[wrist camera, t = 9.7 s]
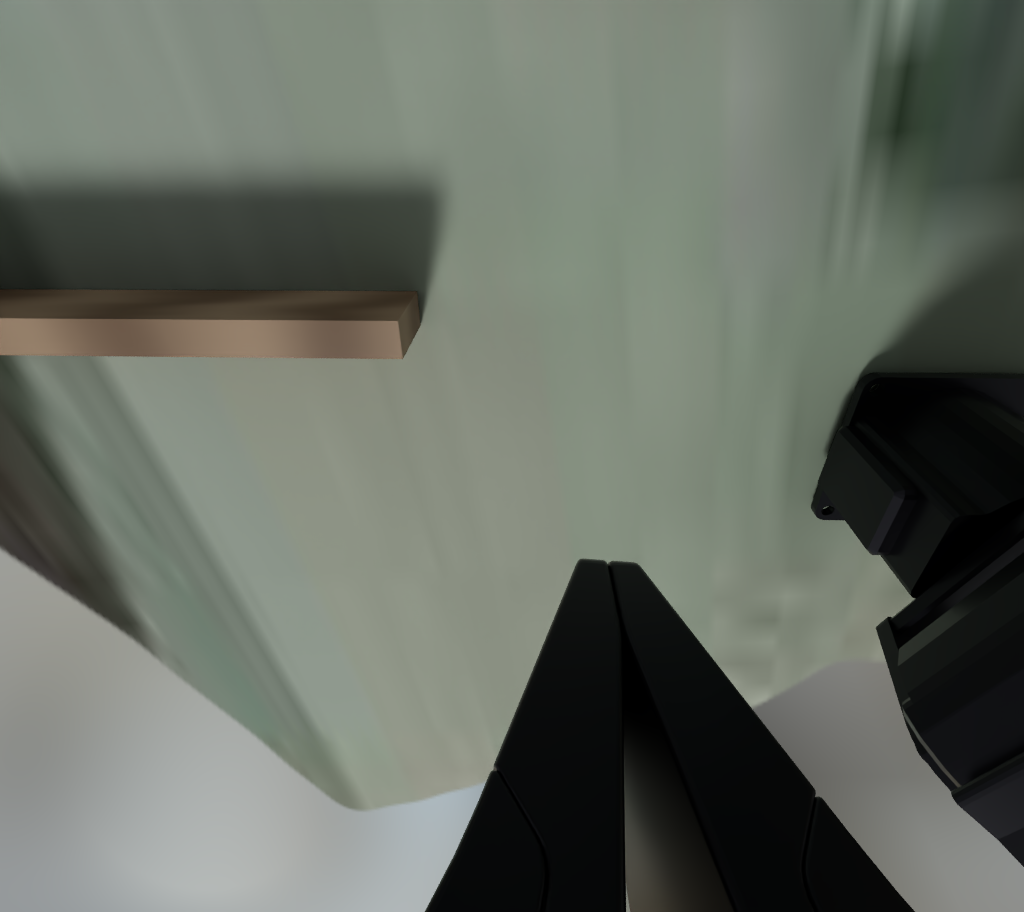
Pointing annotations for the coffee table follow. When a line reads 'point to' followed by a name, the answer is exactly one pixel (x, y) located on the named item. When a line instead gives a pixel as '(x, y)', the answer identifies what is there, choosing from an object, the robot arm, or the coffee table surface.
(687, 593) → the coffee table surface
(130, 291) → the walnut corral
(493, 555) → the coffee table surface
